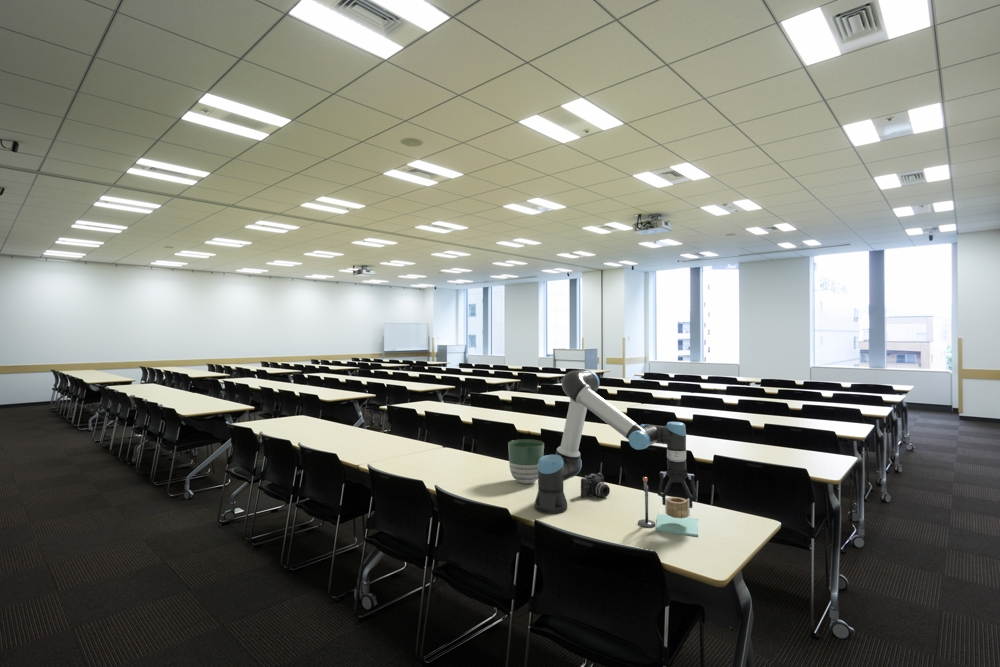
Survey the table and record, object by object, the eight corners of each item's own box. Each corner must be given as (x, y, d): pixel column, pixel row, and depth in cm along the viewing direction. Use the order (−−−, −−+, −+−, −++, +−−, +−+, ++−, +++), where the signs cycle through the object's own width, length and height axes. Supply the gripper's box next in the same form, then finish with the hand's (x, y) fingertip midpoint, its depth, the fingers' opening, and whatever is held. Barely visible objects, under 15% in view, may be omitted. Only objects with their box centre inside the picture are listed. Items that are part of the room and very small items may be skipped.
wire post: (636, 529, 201) (636, 476, 201) (638, 520, 211) (638, 470, 211) (654, 531, 199) (654, 478, 199) (655, 522, 208) (655, 471, 209)
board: (655, 531, 199) (655, 529, 199) (658, 515, 216) (658, 513, 216) (698, 536, 194) (698, 534, 194) (697, 520, 210) (697, 518, 210)
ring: (667, 516, 202) (666, 502, 203) (667, 510, 210) (667, 496, 210) (687, 519, 200) (687, 504, 200) (687, 512, 207) (687, 498, 207)
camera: (595, 502, 235) (594, 481, 235) (578, 496, 244) (578, 476, 244) (614, 496, 243) (614, 476, 244) (598, 490, 252) (597, 471, 252)
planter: (506, 478, 275) (506, 439, 275) (540, 476, 277) (540, 438, 277) (510, 488, 256) (510, 447, 256) (547, 487, 258) (547, 446, 258)
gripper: (650, 459, 205) (650, 514, 205) (703, 463, 198) (704, 520, 198) (651, 455, 212) (652, 508, 212) (703, 459, 205) (704, 514, 205)
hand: (677, 514), depth 205 cm, fingers closed on ring, 8 cm apart
